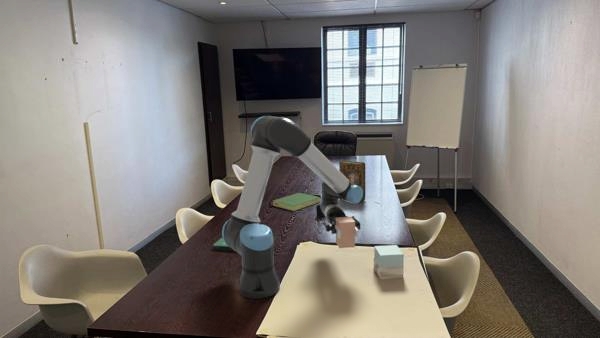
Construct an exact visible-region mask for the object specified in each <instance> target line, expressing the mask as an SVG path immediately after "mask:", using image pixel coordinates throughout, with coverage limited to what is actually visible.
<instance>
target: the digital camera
mask: <svg viewBox="0 0 600 338" xmlns="http://www.w3.org/2000/svg"><path fill="white" fill-rule="evenodd" d="M320 204H321V203H320ZM320 204H316V207H315V208H316V217H317V218H319V219H322V218H326V216H325V215H324V214H323V212H322V210H321V207H320Z"/></svg>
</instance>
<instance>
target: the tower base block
mask: <svg viewBox="0 0 600 338" xmlns="http://www.w3.org/2000/svg"><path fill="white" fill-rule="evenodd" d="M404 267H405V266H404V265H403V267H386V268H380V267H379V265H378V263H377V262H376V260H375V258H374V257H373V270H374V272H375V273H376V275H377V277H378V278H379V280H391V279H401V278H402V279H403V278H404V270H405V269H404Z"/></svg>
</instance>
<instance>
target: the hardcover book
mask: <svg viewBox="0 0 600 338" xmlns="http://www.w3.org/2000/svg"><path fill="white" fill-rule="evenodd" d="M320 198H321V197H320V196H316V195H312V194H306V193H302V192H296V193H294V194H289V195H287V196H283V197H280V198H276V199H274V200H272V201H271V202H272V205H271V206H273V207H277V208H281V209H284V210H288V211H291V212H295V211H298V210H301V209H304V208H307V207H310V206H313V205H315V204H316V205H317V204H318V203H321V202H320Z"/></svg>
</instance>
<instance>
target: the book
mask: <svg viewBox="0 0 600 338" xmlns="http://www.w3.org/2000/svg"><path fill="white" fill-rule="evenodd" d="M338 166H339V169H338V170H339V171H340V172H341V173H342V174H343V175H344V176H345V177H346V178H347V179H348V180H349V181H350V182H351V183H352V184H354V185H357V186H359V187H361V188H362V190H363V197H362V199H361V200H360V202H358V204H359V203H362V202H364V201H365V200H366V162H363V161H351V160H340V161H339V164H338ZM339 200H340V201H342V200H341V199H339Z"/></svg>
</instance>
